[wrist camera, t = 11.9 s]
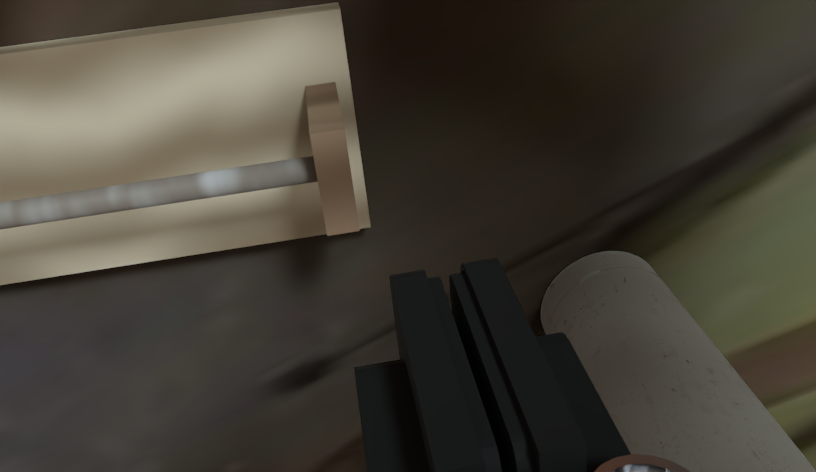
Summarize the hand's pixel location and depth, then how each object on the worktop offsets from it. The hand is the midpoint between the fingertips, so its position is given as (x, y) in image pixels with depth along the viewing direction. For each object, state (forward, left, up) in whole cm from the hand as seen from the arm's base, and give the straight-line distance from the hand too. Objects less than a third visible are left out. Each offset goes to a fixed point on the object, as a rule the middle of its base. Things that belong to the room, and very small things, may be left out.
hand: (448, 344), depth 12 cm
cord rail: (+7, -17, -29) cm, 34 cm away
